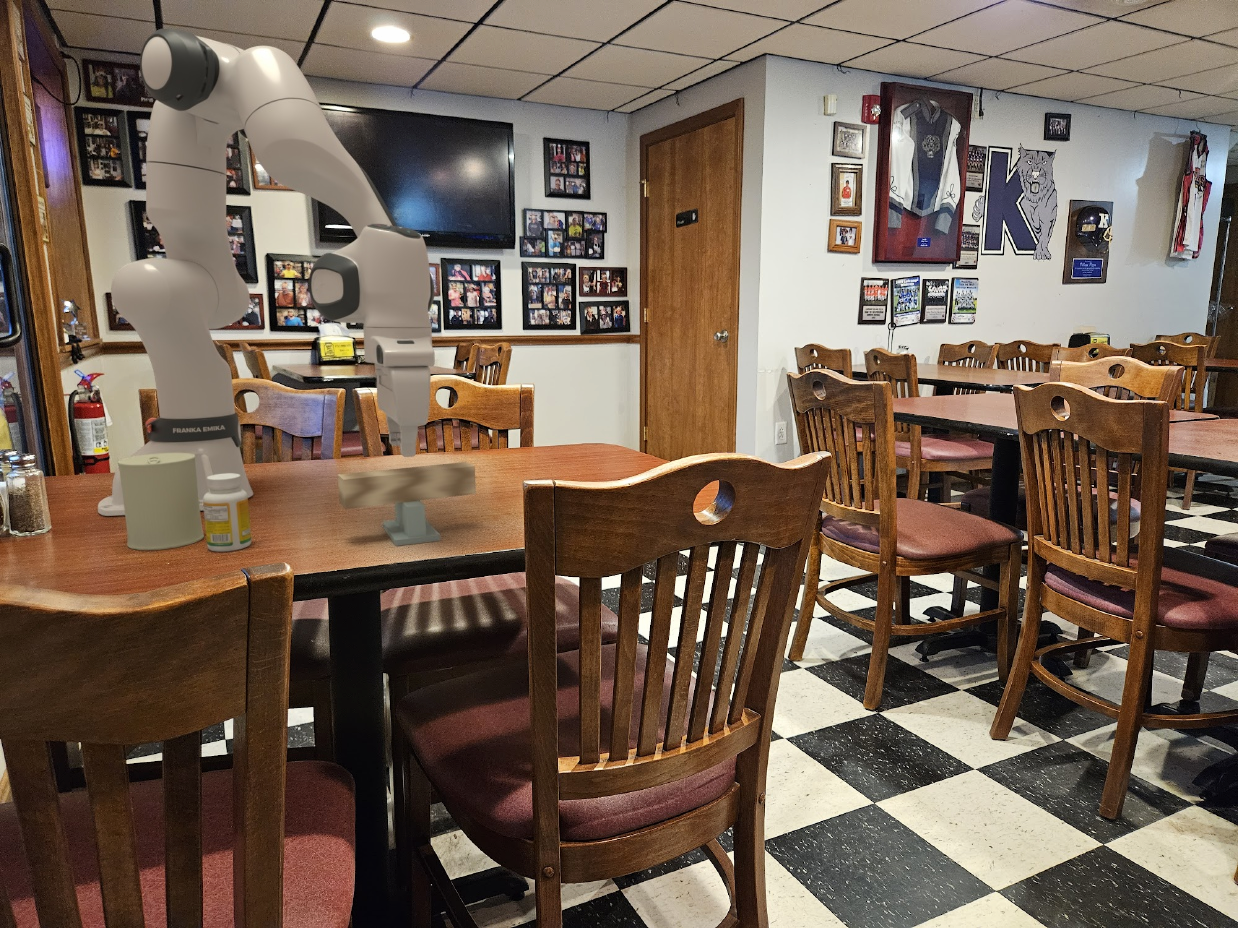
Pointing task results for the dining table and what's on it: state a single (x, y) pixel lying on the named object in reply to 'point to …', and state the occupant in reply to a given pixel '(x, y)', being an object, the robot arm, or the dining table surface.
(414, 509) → the ridge
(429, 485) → the plank
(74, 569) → the dining table surface
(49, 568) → the dining table surface
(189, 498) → the can
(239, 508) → the supplement bottle
